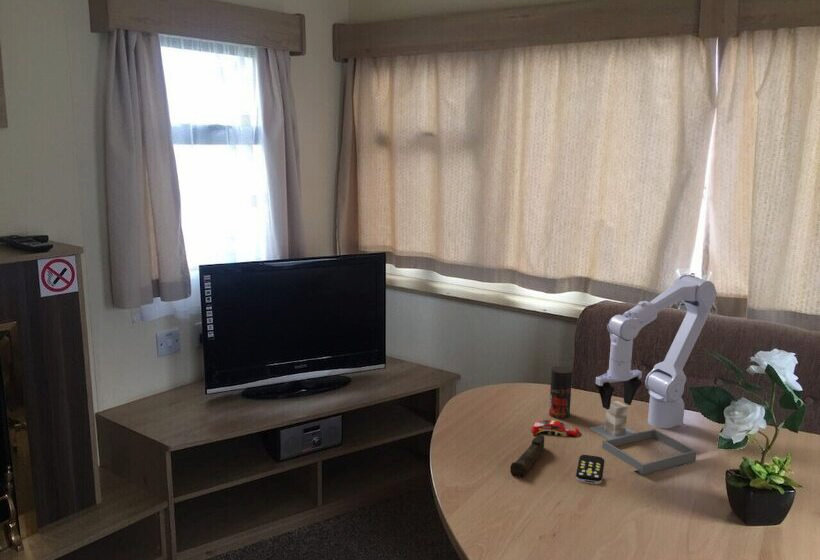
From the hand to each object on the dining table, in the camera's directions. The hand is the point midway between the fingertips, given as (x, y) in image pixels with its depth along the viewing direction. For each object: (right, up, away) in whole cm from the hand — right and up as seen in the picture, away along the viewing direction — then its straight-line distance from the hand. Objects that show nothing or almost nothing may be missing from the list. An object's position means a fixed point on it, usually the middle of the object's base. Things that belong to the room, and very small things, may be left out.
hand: (616, 405), depth 202 cm
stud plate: (0, -8, +2) cm, 9 cm away
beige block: (0, -7, +2) cm, 8 cm away
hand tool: (-27, -12, -14) cm, 32 cm away
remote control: (-12, -14, -19) cm, 26 cm away
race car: (-17, -9, +2) cm, 19 cm away
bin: (+5, -11, -11) cm, 17 cm away
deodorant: (-13, -6, +13) cm, 20 cm away
